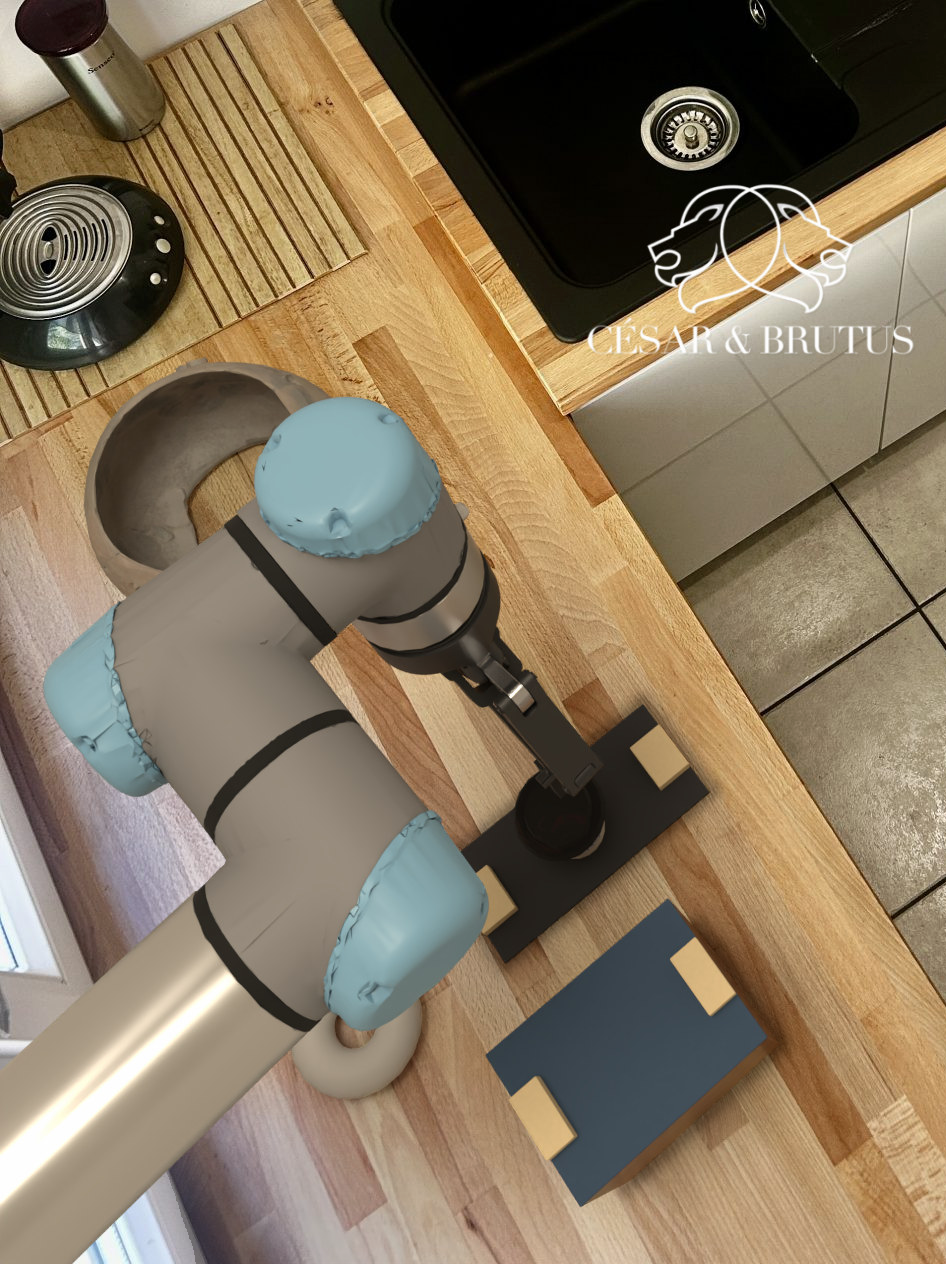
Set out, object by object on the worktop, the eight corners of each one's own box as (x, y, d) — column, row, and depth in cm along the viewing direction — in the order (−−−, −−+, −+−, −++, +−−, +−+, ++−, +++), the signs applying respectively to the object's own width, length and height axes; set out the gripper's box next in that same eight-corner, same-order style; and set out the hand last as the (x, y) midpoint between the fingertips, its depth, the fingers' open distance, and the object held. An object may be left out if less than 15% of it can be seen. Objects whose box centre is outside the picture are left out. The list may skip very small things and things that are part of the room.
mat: (506, 963, 115) (501, 962, 113) (443, 866, 118) (437, 863, 116) (709, 792, 120) (707, 788, 118) (643, 704, 124) (640, 699, 122)
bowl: (87, 516, 134) (6, 456, 121) (296, 358, 141) (241, 285, 127) (223, 708, 125) (152, 665, 112) (440, 530, 132) (397, 469, 119)
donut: (434, 1081, 111) (419, 938, 116) (423, 1082, 108) (408, 935, 113) (301, 1113, 111) (292, 968, 115) (286, 1115, 107) (277, 966, 112)
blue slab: (581, 1207, 86) (576, 1209, 85) (486, 1055, 90) (479, 1054, 89) (768, 1037, 90) (766, 1036, 88) (668, 898, 94) (665, 895, 92)
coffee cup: (518, 811, 119) (494, 790, 111) (595, 766, 121) (577, 742, 112) (556, 892, 116) (534, 877, 108) (635, 845, 118) (619, 827, 109)
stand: (630, 1181, 107) (581, 1207, 86) (551, 1058, 111) (486, 1055, 90) (779, 1044, 111) (768, 1037, 90) (698, 930, 115) (668, 898, 94)
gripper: (630, 684, 76) (677, 793, 93) (328, 405, 86) (421, 550, 104) (523, 798, 73) (592, 888, 90) (224, 495, 83) (338, 629, 101)
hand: (501, 708), depth 97 cm, fingers open, 13 cm apart
